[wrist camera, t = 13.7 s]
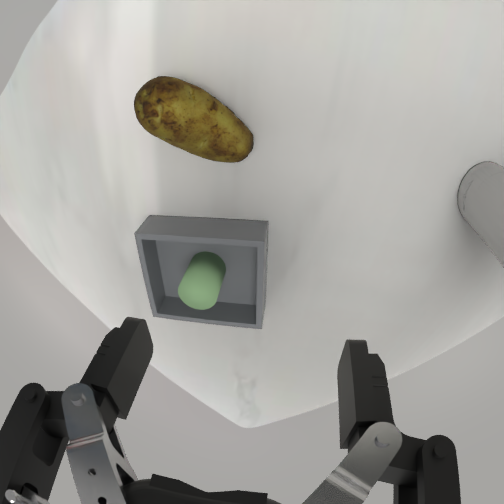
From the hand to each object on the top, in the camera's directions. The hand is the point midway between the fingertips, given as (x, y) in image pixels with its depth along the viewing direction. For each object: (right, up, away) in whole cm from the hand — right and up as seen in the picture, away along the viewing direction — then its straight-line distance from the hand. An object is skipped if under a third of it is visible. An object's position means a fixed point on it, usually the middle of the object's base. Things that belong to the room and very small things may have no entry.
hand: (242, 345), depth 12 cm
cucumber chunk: (-6, +2, +32) cm, 33 cm away
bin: (-6, +2, +33) cm, 34 cm away
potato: (-5, +19, +22) cm, 30 cm away
